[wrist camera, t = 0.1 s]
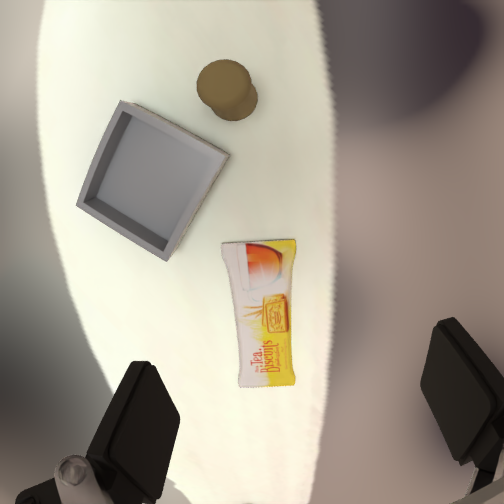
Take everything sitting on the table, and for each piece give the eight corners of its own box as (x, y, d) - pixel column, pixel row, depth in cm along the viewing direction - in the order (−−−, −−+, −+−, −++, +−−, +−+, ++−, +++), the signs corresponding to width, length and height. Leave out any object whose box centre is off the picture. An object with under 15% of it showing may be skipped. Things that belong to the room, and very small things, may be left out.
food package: (295, 389, 48) (238, 392, 48) (294, 381, 50) (239, 383, 50) (296, 241, 38) (219, 245, 39) (294, 236, 40) (221, 240, 41)
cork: (267, 98, 33) (269, 80, 23) (233, 130, 35) (221, 126, 25) (233, 67, 32) (222, 39, 22) (199, 99, 33) (175, 84, 23)
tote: (135, 103, 34) (120, 100, 29) (230, 154, 36) (225, 156, 32) (92, 198, 38) (75, 205, 34) (176, 249, 41) (166, 262, 37)
